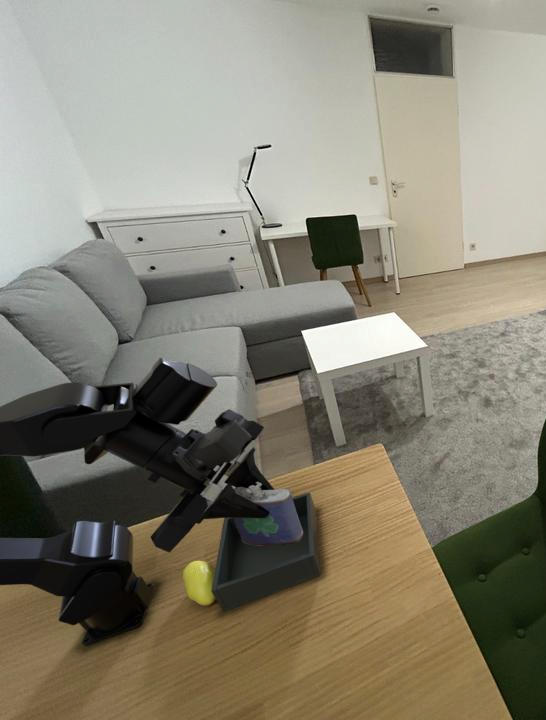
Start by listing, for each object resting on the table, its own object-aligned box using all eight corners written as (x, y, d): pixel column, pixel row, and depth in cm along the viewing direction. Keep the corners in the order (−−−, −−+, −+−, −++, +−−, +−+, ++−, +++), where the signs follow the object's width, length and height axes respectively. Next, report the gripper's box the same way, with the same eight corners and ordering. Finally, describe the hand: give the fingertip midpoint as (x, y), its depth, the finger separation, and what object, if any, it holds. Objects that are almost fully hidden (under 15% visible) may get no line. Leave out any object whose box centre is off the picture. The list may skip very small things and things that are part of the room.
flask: (306, 530, 60) (290, 478, 54) (298, 547, 57) (280, 495, 52) (247, 528, 60) (226, 477, 55) (236, 545, 57) (212, 493, 52)
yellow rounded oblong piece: (185, 580, 60) (213, 563, 62) (198, 619, 55) (229, 599, 57) (174, 563, 58) (204, 546, 60) (187, 603, 53) (219, 582, 55)
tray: (223, 612, 56) (211, 591, 53) (233, 537, 66) (224, 517, 64) (320, 575, 60) (313, 555, 58) (316, 511, 71) (309, 491, 68)
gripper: (135, 466, 39) (275, 535, 45) (231, 372, 55) (325, 431, 61) (91, 523, 42) (226, 580, 48) (194, 419, 59) (286, 470, 64)
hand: (272, 506), depth 55 cm, fingers closed on flask, 3 cm apart
